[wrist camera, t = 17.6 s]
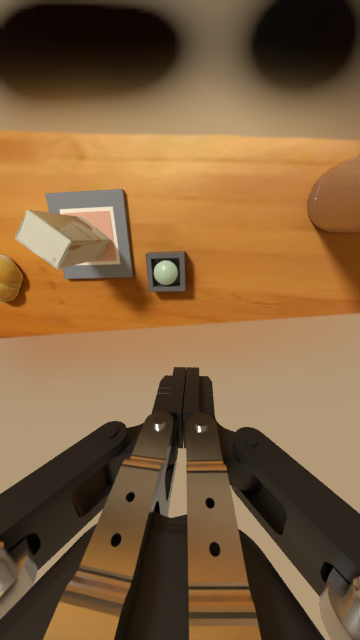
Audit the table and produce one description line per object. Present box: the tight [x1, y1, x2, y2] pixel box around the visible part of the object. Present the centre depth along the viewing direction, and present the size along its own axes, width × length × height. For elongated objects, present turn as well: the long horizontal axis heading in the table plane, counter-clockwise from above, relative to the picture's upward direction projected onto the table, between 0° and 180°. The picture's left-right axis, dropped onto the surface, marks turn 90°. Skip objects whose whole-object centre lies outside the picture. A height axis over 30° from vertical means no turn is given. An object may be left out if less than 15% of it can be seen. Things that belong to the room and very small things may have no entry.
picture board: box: [45, 189, 134, 279], centre depth 38 cm, size 13×14×1 cm
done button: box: [154, 260, 178, 285], centre depth 38 cm, size 4×4×2 cm
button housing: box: [146, 251, 186, 292], centre depth 38 cm, size 6×6×3 cm
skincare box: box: [15, 210, 111, 269], centre depth 32 cm, size 6×4×12 cm
